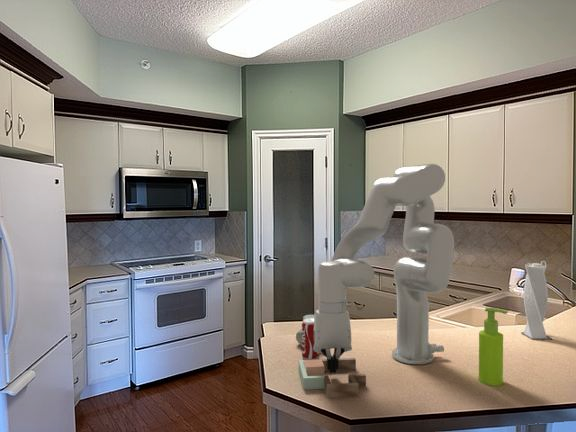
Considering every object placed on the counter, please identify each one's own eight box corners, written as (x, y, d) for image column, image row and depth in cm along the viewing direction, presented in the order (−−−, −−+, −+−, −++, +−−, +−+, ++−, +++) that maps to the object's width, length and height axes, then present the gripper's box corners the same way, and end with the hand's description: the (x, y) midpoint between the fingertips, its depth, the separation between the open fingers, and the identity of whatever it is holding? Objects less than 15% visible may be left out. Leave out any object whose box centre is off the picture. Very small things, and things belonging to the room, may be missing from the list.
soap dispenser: (506, 388, 108) (506, 312, 107) (477, 382, 111) (477, 309, 111) (507, 380, 113) (508, 307, 112) (480, 374, 116) (480, 304, 116)
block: (321, 375, 118) (321, 359, 118) (324, 382, 113) (324, 366, 113) (304, 375, 117) (304, 360, 117) (306, 383, 112) (306, 367, 112)
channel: (354, 367, 122) (354, 357, 122) (371, 395, 104) (371, 384, 104) (317, 369, 121) (317, 359, 121) (327, 397, 104) (327, 386, 103)
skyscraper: (554, 341, 144) (556, 261, 143) (531, 341, 144) (532, 261, 143) (540, 333, 152) (541, 257, 151) (518, 333, 152) (519, 257, 151)
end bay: (317, 369, 121) (317, 359, 121) (325, 388, 109) (325, 377, 109) (298, 370, 121) (298, 360, 121) (303, 389, 108) (303, 378, 108)
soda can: (317, 361, 127) (317, 323, 127) (300, 360, 128) (300, 322, 128) (319, 355, 132) (319, 318, 132) (303, 354, 133) (303, 317, 133)
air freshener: (331, 347, 139) (331, 318, 139) (311, 352, 135) (311, 322, 134) (312, 339, 148) (311, 311, 148) (293, 343, 144) (292, 315, 143)
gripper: (355, 302, 119) (355, 365, 119) (303, 303, 118) (304, 367, 118) (362, 309, 111) (362, 376, 112) (307, 310, 110) (307, 378, 111)
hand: (332, 371), depth 115 cm, fingers closed
